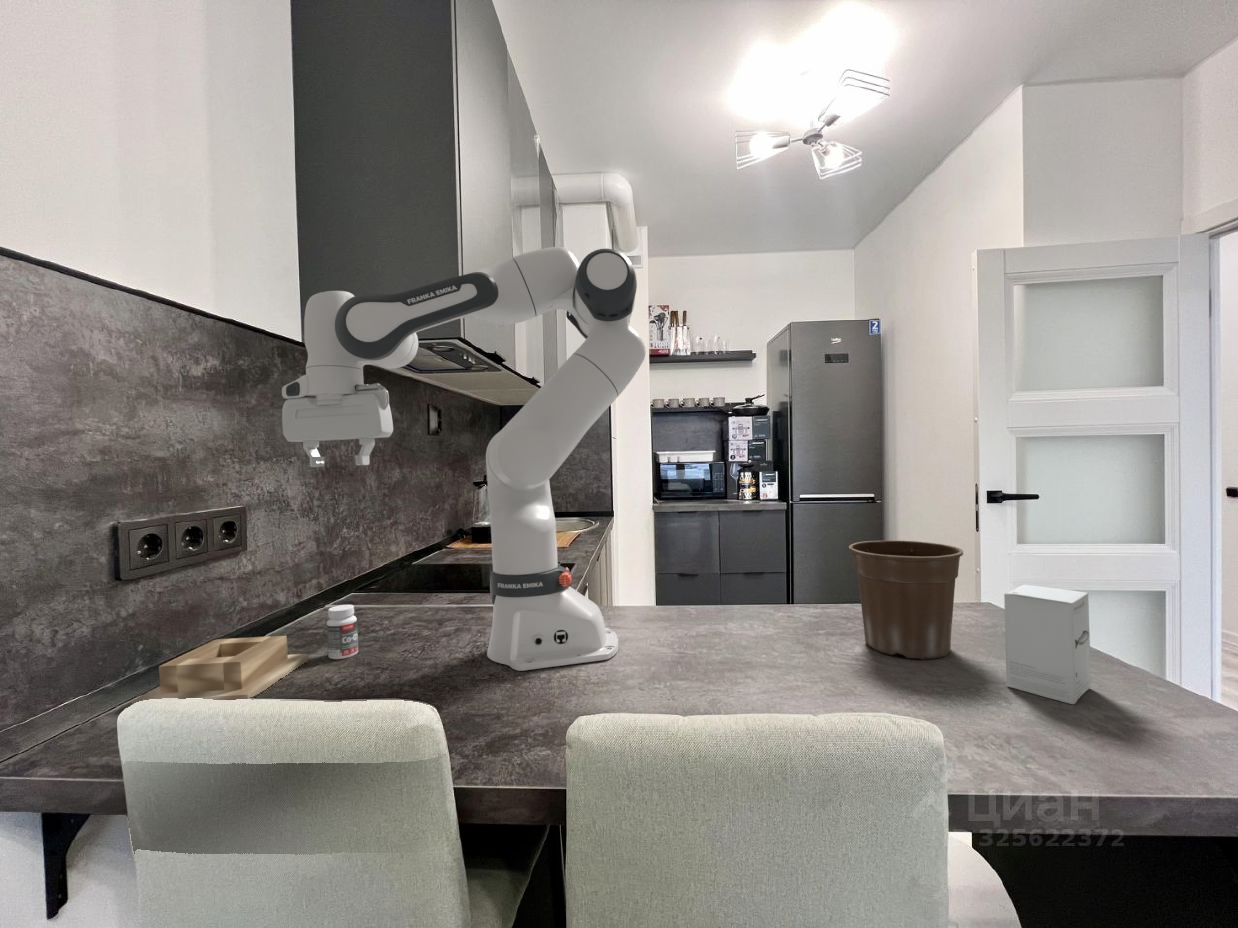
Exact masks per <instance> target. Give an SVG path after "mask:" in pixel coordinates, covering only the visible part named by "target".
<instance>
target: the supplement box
mask: <svg viewBox="0 0 1238 928" xmlns="http://www.w3.org/2000/svg"><path fill="white" fill-rule="evenodd" d="M1003 596H1004V598H1003V599H1004V628H1005V629H1004V630H1005V631H1004V635H1005V671H1006V675H1005V676H1006V677H1005V678H1006V679H1005V680H1006V687H1009V688H1012V689H1015V690H1019V691H1023V692H1027V693H1029V694H1032V695H1037V696H1039V697H1044V698H1048V699H1052V700H1055V701H1058V702H1062V703H1066V704H1071V705H1075V704H1076V703H1077V702H1078V701H1079V699H1080V698H1081V697H1082V696H1083V695H1084V694H1085V693H1086V692H1087V691H1089V689H1091V685H1092V682H1091V639H1090V634H1091V633H1090V612H1089V611H1090V610H1089V602H1090V601H1089V592H1086V591H1085V592H1084V591H1078V590H1073V589H1072V590H1071V589H1064V588H1057V587H1048V586H1047V587H1046V586H1041V585H1040V586H1039V585H1032V584H1022V585H1019V586H1018V587H1015V588H1013V589H1011V590H1009V591H1008V592H1005V593H1004V595H1003Z"/></svg>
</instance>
